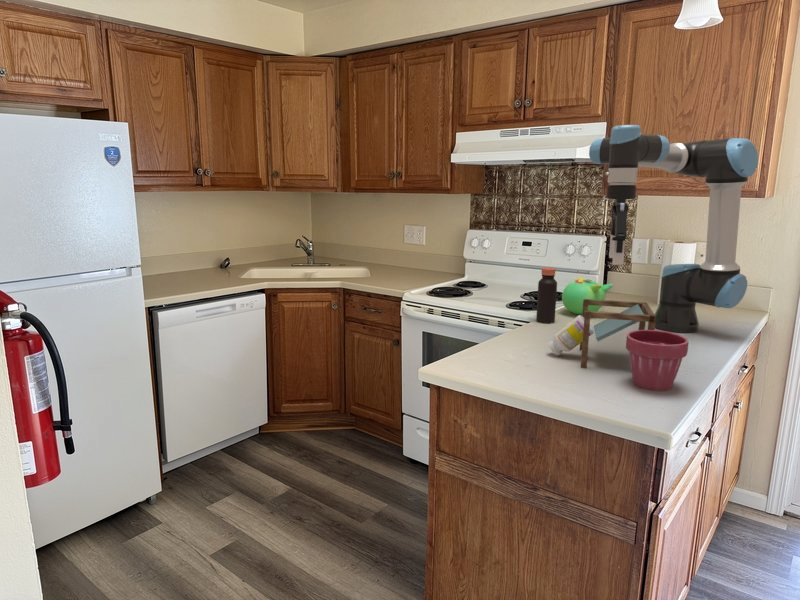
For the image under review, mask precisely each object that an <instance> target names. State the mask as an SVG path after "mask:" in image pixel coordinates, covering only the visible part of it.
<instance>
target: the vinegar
mask: <svg viewBox="0 0 800 600" xmlns="http://www.w3.org/2000/svg"><path fill="white" fill-rule="evenodd" d="M555 276H556V268H553V267H542V268H541V279H540V280H539V281H537V282H538V283H537V286H538V287H537V297H536V298H537V301H536V302H537V303H536V320H535V321H536V322H538V323H540V322H541V324H553V322H554V323H555V322H556V307H557V305H556V304H557V294H558V293H557V291H558V282H557V280H556V279H555Z"/></svg>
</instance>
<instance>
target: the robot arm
mask: <svg viewBox="0 0 800 600" xmlns="http://www.w3.org/2000/svg"><path fill="white" fill-rule="evenodd" d="M588 157H589V159H590V161H591V162H592V163H594V164H595V165H603V166H604V165H608V171H605V176H607V183H608V184H609V185H607V186H606V194H605V196H606V199H608V200H615V201H613V203H612V205H611V224H610V229H609V231H610V238H609V241H610V242H609V250H608V251H609V252H608V254H609V255H608V258H609V259H612V266H613V265H614V266H615V265H617V266H624V261H625V260H624V258H625V246H626V239H627V224H628V223H627V219H628V211H629V204H628V202H627V201H626V200H633V199H635V198H636V197H637V196H636V195H637V185H635V184H637V181H638V173H639V168H640V167H641V168H649V169H651V168H652V169H661V170H663V171H665V172H666V173H670V174H677V175H683V176H687V177H697V178H705V181H704V183H705V185H706V186H708V188H709V189H710V190H709V202H708V214H707V215H708V216H707V218H708V219H707V228H706V229H707V233H706V248H705V260H704V262H703V263H702V264H699V263H676V264H675V263H674V264H668V265H665V266H663V269H662V273H661V276H660V278H661V282H660V291H659V293H660V294H659V302H658V307H657V309H656V311H655V312H654V314H655V316H656V322H655V329H656V330H660V331H666V332H671V333H684V334H685V333H695V332H698V331H699V326H700V323H699V318H698V315H697V310H696V304H699V305H700V304H701V305H706V306H712V307H716V308H719V309H720V308H721V309H722V308H723V309H732V308H735V307H736V306H738V305H739V304H740V303H741V301H742V300H743V298H744V297H745V294H746V292H747V288H748V279H747V276H745V274H743V273H741V266H740V264H738V263H737V262H736V260H737V259H736V258H737V257H736V256H737V245H738V234H739V233H738V232H739V220H740V211H741V195H742V187H743V186H744V185H746V184H747V183H748V180H749V177H751V176H753V175H754V174H755V173H756V169H757V168H758V165H759V154H758V149H757V147H756V145H755V144H754V142H752V140H750V139H749V138H745V137H743V138H742V137H741V138H739V137H738V138H736V137H732V138H723V139H708V140H697V141H688V142H683V143H682V142H674V143H670V141H669V140H668V138H667V137H665V136H663V135H660V134H656V133H655V134H643V133H642V127H641V126H640V125H637V124H621V125H620V124H619V125H615V126H614V127H612V128H611V132H610V137H602V138H598V139H595V140H594V141H592V143H591V144H590V146H589V151H588Z"/></svg>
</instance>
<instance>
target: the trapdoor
mask: <svg viewBox="0 0 800 600" xmlns="http://www.w3.org/2000/svg"><path fill="white" fill-rule="evenodd" d="M619 313H627V314H642V315H644V314H643V312H642V310H641V308H640V307H639V305H638V304H637V305H635V306H632V307H630V308H628V307H627V308H626V309H625V310H622V311H620V312H619ZM637 323H639V321H632V320H618V319H604V320H603V321H600V322H599V323H596V324H594V325H593V329H594V335H595V339H596V340H597V342H600V341H602V340H603V339H606V338H608V337H610V336H613V335H614V334H616V333H619V332H620V331H623V330H625V329H627V328H629V327H631V326H633V325H635V324H637Z"/></svg>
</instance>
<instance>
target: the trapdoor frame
mask: <svg viewBox="0 0 800 600" xmlns="http://www.w3.org/2000/svg"><path fill="white" fill-rule="evenodd" d="M637 304H638V305H639V307H640V308H641V310H642V312H643V314H644V315H642V314H627V313H620V312H610V311H609V312H608V311H588V305H596V306H602V307H614V308H615V307H616V308H627V309H628V308H630V307H632V306H635V305H637ZM581 316H583V317H584V329H583V341H582V342H581V343H580V344H579V351H581V350H582V351H581V355H580V356H581V358H580V368H583V369H587V366H588V351H589V341H590V340H589V339H590V336H589V329H590V325H591V319H592V318H593V319H604V320H606V319H618V320H632V321H639V322H638V330H646V323H647V330H656V328H655V322H656V316H655V312H653V310H652V308H651V307H650V305H649V303H647V302H641V301H625V300H623V301H622V300H606V299H605V300H593V299H583V311H582V315H581Z"/></svg>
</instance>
